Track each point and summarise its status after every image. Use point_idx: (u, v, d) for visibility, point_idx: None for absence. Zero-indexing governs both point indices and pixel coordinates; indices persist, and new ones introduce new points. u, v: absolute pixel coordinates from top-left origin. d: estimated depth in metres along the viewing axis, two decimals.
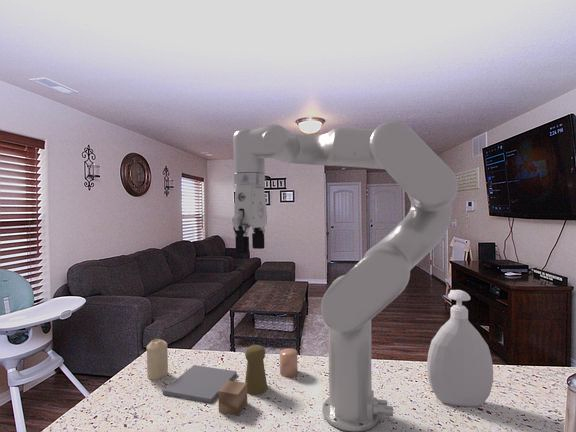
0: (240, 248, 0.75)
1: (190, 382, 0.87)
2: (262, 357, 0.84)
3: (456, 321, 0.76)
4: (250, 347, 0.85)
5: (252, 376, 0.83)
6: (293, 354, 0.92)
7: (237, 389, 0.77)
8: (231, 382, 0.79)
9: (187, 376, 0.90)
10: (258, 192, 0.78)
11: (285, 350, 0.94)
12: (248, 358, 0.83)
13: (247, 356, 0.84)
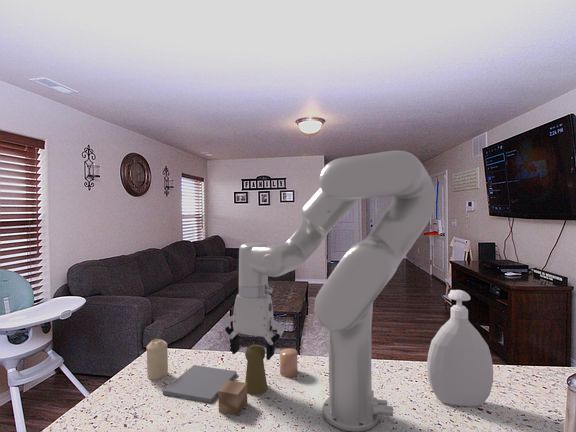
0: (273, 353, 0.84)
1: (190, 382, 0.87)
2: (262, 357, 0.84)
3: (456, 321, 0.76)
4: (250, 347, 0.85)
5: (252, 376, 0.83)
6: (293, 354, 0.92)
7: (237, 389, 0.77)
8: (231, 382, 0.79)
9: (187, 376, 0.90)
10: None
11: (285, 350, 0.94)
12: (248, 358, 0.83)
13: (247, 356, 0.84)
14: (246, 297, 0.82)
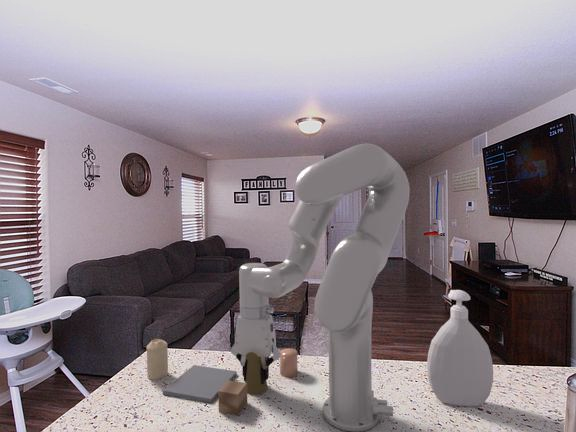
0: (267, 377, 0.84)
1: (190, 382, 0.87)
2: None
3: (456, 321, 0.76)
4: None
5: (252, 376, 0.83)
6: (293, 354, 0.92)
7: (237, 389, 0.77)
8: (231, 382, 0.79)
9: (187, 376, 0.90)
10: None
11: (285, 350, 0.94)
12: (248, 358, 0.83)
13: (247, 356, 0.84)
14: (247, 318, 0.82)
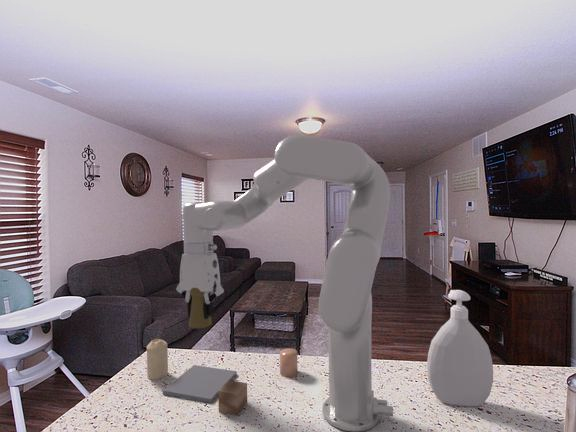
0: (211, 312, 0.87)
1: (190, 382, 0.87)
2: None
3: (456, 321, 0.76)
4: None
5: (195, 310, 0.85)
6: (293, 354, 0.92)
7: (237, 389, 0.77)
8: (231, 382, 0.79)
9: (187, 376, 0.90)
10: None
11: (285, 350, 0.94)
12: (191, 293, 0.86)
13: (191, 291, 0.86)
14: (189, 253, 0.84)
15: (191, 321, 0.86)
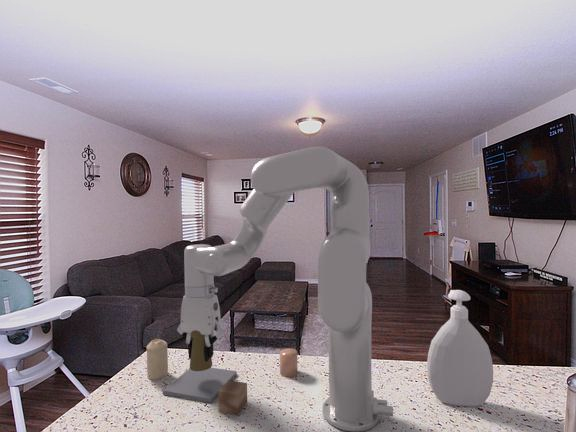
0: (211, 354, 0.87)
1: (190, 382, 0.87)
2: None
3: (456, 321, 0.76)
4: None
5: (196, 353, 0.86)
6: (293, 354, 0.92)
7: (237, 389, 0.77)
8: (231, 382, 0.79)
9: (187, 376, 0.90)
10: None
11: (285, 350, 0.94)
12: (192, 336, 0.86)
13: (191, 334, 0.86)
14: (190, 297, 0.84)
15: (192, 363, 0.86)
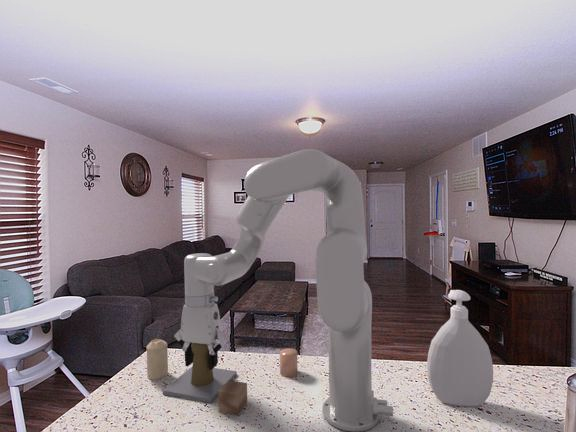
0: (216, 363, 0.87)
1: (190, 382, 0.87)
2: (207, 350, 0.86)
3: (456, 321, 0.76)
4: None
5: (197, 368, 0.86)
6: (293, 354, 0.92)
7: (237, 389, 0.77)
8: (231, 382, 0.79)
9: (187, 376, 0.90)
10: None
11: (285, 350, 0.94)
12: (193, 351, 0.86)
13: (193, 349, 0.86)
14: (191, 307, 0.84)
15: (193, 379, 0.86)
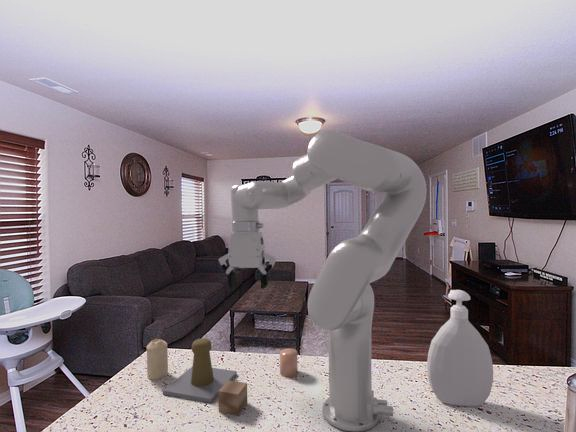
0: (267, 283, 0.92)
1: (190, 382, 0.87)
2: (207, 350, 0.86)
3: (456, 321, 0.76)
4: (196, 340, 0.88)
5: (197, 368, 0.86)
6: (293, 354, 0.92)
7: (237, 389, 0.77)
8: (231, 382, 0.79)
9: (187, 376, 0.90)
10: None
11: (285, 350, 0.94)
12: (193, 351, 0.86)
13: (192, 349, 0.86)
14: (239, 231, 0.90)
15: (193, 379, 0.86)
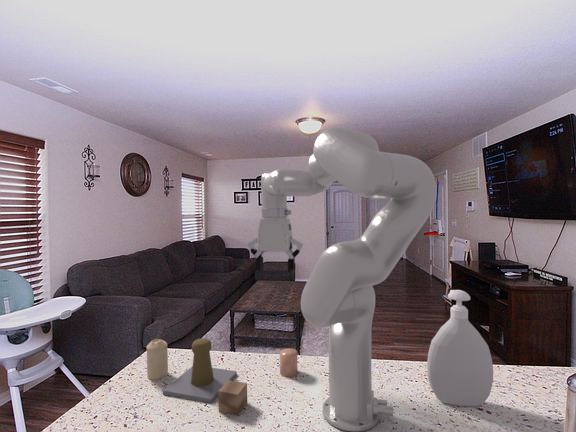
0: (293, 267, 0.96)
1: (190, 382, 0.87)
2: (207, 350, 0.86)
3: (456, 321, 0.76)
4: (196, 340, 0.88)
5: (197, 368, 0.86)
6: (293, 354, 0.92)
7: (237, 389, 0.77)
8: (231, 382, 0.79)
9: (187, 376, 0.90)
10: None
11: (285, 350, 0.94)
12: (193, 351, 0.86)
13: (192, 349, 0.86)
14: (269, 217, 0.94)
15: (193, 379, 0.86)
